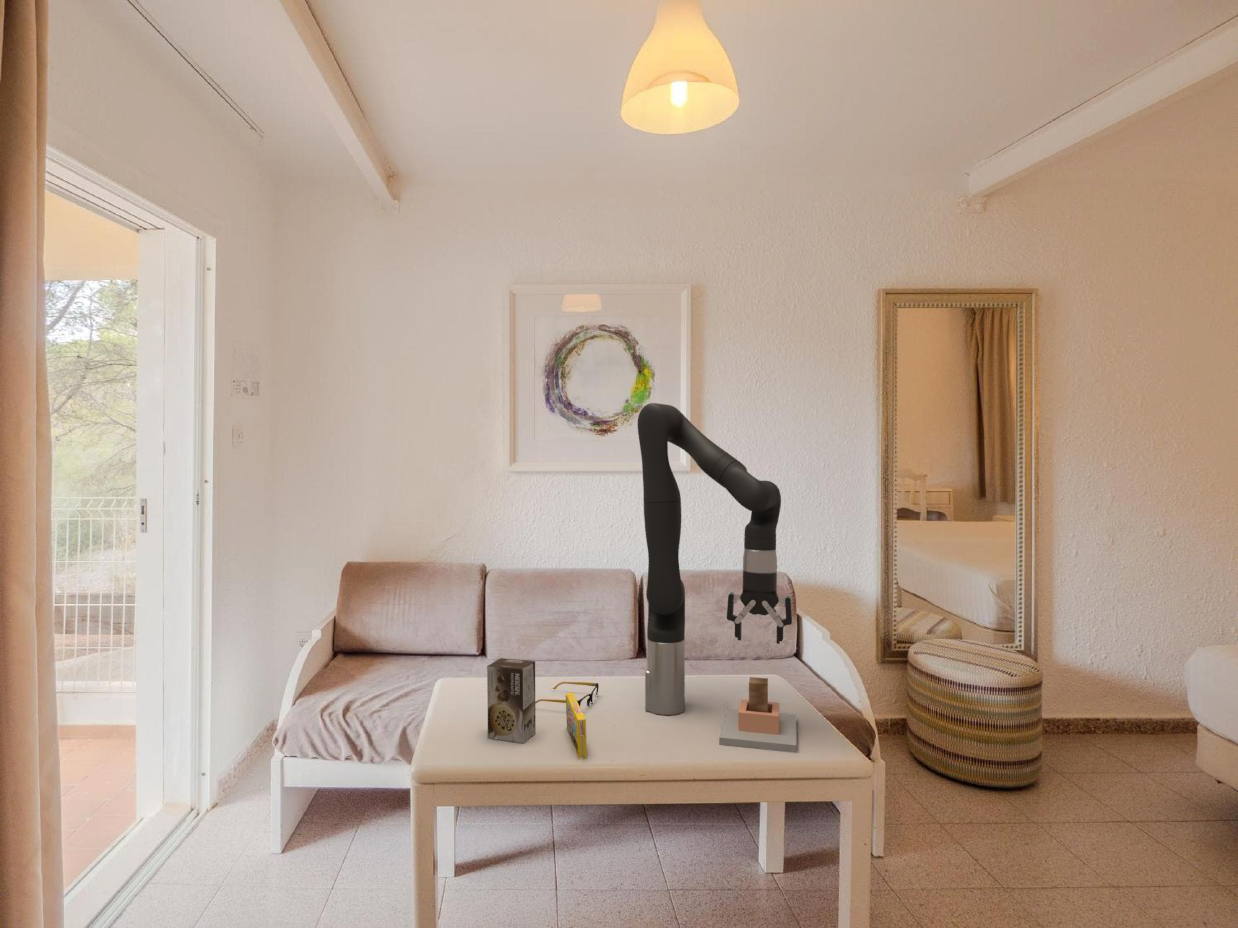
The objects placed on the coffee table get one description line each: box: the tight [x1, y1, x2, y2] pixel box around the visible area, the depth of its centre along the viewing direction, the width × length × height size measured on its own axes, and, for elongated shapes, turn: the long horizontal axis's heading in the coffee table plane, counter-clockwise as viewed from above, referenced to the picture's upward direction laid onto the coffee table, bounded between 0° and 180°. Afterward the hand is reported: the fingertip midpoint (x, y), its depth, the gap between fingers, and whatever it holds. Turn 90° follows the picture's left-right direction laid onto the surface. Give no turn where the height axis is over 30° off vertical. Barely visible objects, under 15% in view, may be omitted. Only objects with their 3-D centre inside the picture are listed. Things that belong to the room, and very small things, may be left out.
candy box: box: [565, 692, 588, 760], centre depth 141 cm, size 16×2×8 cm, turn 13°
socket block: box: [718, 699, 798, 753], centre depth 147 cm, size 16×18×6 cm
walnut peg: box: [748, 676, 769, 713], centre depth 147 cm, size 4×4×10 cm
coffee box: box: [486, 657, 537, 744], centre depth 145 cm, size 9×6×16 cm
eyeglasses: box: [535, 681, 600, 707], centre depth 166 cm, size 14×14×4 cm
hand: (758, 641), depth 147 cm, fingers open, 8 cm apart
